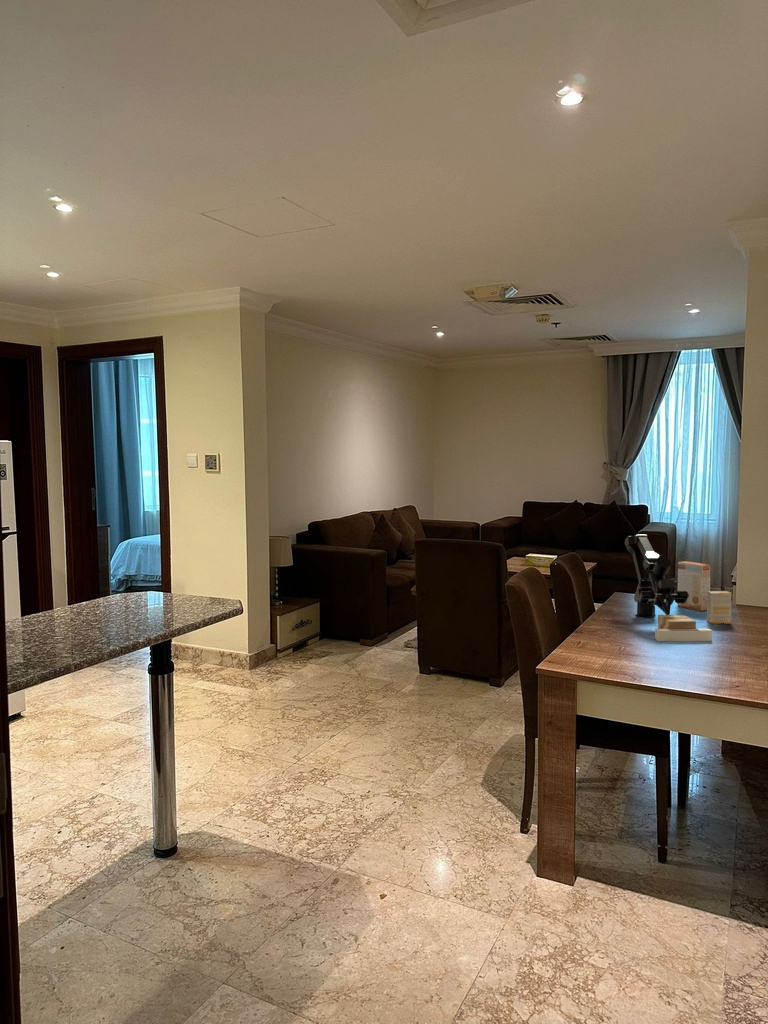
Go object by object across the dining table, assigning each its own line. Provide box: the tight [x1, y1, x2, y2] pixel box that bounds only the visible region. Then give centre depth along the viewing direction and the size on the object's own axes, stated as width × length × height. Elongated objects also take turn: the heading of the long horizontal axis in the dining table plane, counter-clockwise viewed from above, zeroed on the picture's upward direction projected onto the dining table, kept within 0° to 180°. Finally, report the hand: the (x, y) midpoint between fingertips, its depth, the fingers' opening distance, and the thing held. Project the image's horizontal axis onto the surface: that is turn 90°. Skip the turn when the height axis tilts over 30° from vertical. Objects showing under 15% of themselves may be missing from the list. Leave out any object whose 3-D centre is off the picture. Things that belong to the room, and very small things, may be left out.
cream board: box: [654, 627, 713, 642], centre depth 269 cm, size 3×20×4 cm, turn 88°
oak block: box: [657, 614, 697, 629], centre depth 277 cm, size 12×10×7 cm
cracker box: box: [676, 560, 712, 612], centre depth 326 cm, size 14×6×21 cm, turn 22°
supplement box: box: [706, 590, 732, 625], centre depth 296 cm, size 8×5×13 cm, turn 84°
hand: (668, 614), depth 284 cm, fingers closed
